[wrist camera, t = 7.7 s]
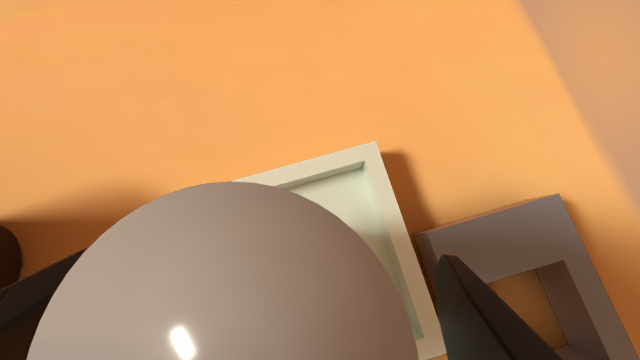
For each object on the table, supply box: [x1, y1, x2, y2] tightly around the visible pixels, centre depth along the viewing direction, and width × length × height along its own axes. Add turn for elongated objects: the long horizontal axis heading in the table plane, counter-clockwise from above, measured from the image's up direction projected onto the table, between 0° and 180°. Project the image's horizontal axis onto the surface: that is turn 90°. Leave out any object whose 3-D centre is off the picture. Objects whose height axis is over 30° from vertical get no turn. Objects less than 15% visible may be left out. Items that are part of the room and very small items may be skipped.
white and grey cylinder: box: [27, 181, 419, 360], centre depth 10 cm, size 4×4×14 cm
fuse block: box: [413, 194, 639, 360], centre depth 15 cm, size 12×8×3 cm, turn 16°
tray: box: [232, 141, 447, 360], centre depth 16 cm, size 12×12×2 cm
